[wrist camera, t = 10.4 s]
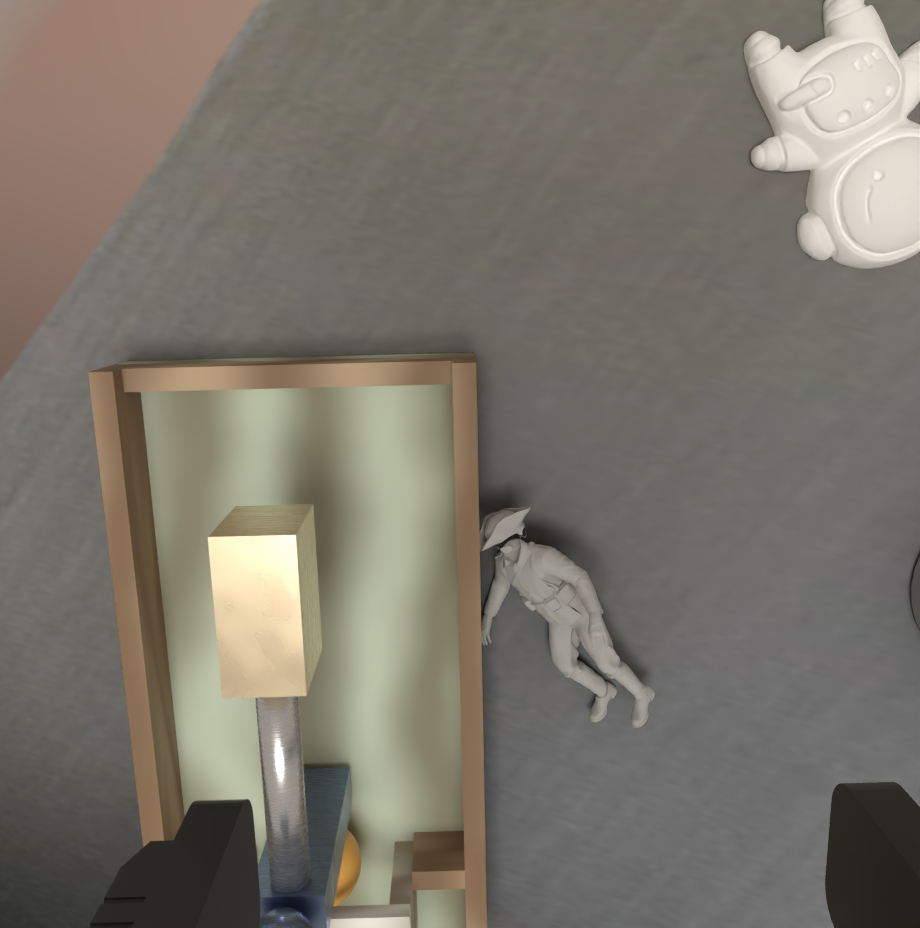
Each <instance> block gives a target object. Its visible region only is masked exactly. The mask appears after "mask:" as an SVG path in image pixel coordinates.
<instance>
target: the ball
mask: <svg viewBox="0 0 920 928" xmlns="http://www.w3.org/2000/svg"><path fill="white" fill-rule="evenodd" d="M361 862H362V860H361V853H360V848H359V846H358V843H357V841H356V839H355V838H354V836H353V835H352V833H351V832H350V831H349V830H348V829H347V834H346V840H345V845H344V851H343V857H342V862H341V868H340V873H339V879H338V885H337V890H336V896H335V901H334V906H336V905H338V904H340V903H341V902H342V901H344V900H345V899H346V898H347V897H348V896H349V895H350V894H351V892H352V891H353V889H354V888H355V886H356V884H357V882H358V879H359V876H360V872H361Z"/></svg>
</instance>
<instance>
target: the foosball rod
mask: <svg viewBox="0 0 920 928" xmlns="http://www.w3.org/2000/svg"><path fill="white" fill-rule="evenodd" d="M208 546H209V557H210V568H211V580H212V591H213V602H214V613H215V624H216V635H217V646H218V657H219V669H220V680H221V691H222V698H255V699H256V711H257V724H258V736H259V748H260V761H261V773H262V785H263V798H264V810H265V822H266V835H267V839H266V842H265V845H264V848H263V851H262V855H261V858H260V861H259V864H258V876H259V888H260V925H259V928H330V924H331V918H332V912H333V907H334V901H335V896H336V890H337V885H338V879H339V873H340V868H341V862H342V857H343V851H344V845H345V840H346V834H347V829H348V823H349V818H350V812H351V806H352V794H351V777H350V767H341V768H306V769H303V755H302V740H301V726H300V711H299V697H298V696H307V693H308V690H309V687H310V684H311V681H312V678H313V675H314V672H315V669H316V666H317V663H318V660H319V657H320V654H321V651H322V636H321V620H320V604H319V588H318V571H317V555H316V539H315V523H314V507H313V504H298V505H260V506H235V507H234V508H233V509H232V511H231V512H230V513H229V514H228V515H227V516H226V517H225V518H224V520H223V521H222V522H221V523H220V524H219V525H218V526H217V527H216V528H215V530H214V531H213V532H212V533H211V534H210V535H209V536H208Z"/></svg>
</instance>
